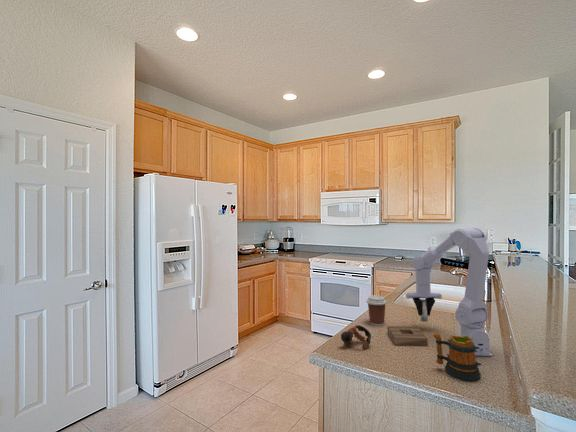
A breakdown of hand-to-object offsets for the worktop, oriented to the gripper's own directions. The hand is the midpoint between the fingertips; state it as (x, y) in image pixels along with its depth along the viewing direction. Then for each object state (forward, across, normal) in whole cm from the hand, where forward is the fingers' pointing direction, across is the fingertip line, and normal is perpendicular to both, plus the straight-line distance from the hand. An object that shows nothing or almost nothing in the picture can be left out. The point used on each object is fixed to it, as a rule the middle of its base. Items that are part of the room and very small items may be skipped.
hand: (424, 314), depth 128 cm
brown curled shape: (+6, +32, +19) cm, 38 cm away
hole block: (+6, +11, +12) cm, 17 cm away
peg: (+2, 0, 0) cm, 2 cm away
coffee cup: (+6, +19, -6) cm, 21 cm away
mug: (+6, +3, +37) cm, 38 cm away
